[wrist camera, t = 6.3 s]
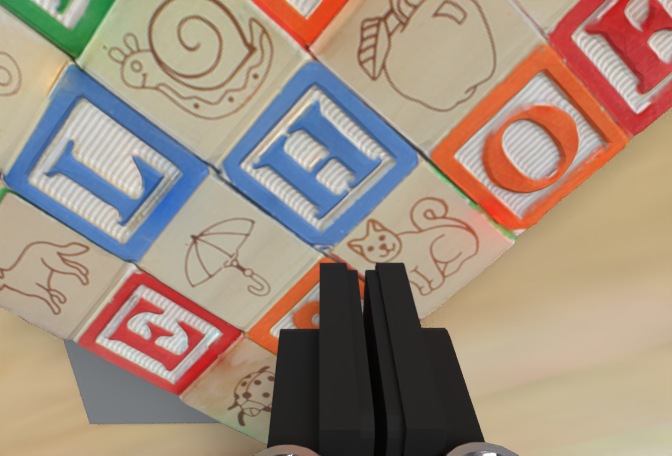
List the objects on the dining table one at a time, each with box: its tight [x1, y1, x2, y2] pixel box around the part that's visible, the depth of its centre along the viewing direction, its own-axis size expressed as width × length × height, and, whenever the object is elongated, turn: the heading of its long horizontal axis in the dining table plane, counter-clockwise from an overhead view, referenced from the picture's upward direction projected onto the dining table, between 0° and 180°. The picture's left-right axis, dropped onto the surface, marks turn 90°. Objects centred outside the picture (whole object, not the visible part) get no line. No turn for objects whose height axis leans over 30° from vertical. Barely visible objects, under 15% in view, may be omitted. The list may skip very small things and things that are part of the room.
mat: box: [63, 339, 221, 424], centre depth 17 cm, size 14×24×1 cm, turn 179°
